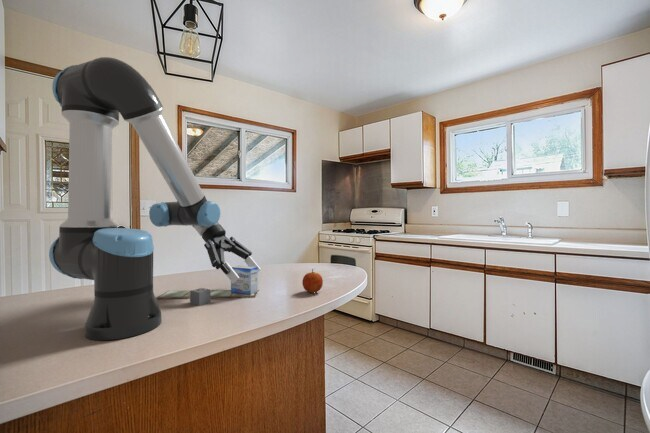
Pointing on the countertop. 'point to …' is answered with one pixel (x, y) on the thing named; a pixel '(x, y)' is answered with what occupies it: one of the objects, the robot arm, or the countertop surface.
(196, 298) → the grey toy brick
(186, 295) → the board
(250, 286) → the medicine box
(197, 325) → the countertop surface
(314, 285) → the fruit
